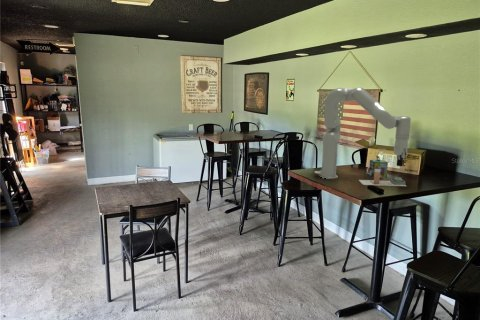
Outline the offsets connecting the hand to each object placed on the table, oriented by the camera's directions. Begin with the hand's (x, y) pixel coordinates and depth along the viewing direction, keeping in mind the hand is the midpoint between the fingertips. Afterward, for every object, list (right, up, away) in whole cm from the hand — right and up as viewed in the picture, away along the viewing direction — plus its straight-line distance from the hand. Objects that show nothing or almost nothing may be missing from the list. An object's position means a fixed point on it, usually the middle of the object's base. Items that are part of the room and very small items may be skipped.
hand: (399, 165), depth 204 cm
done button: (0, -10, +2) cm, 10 cm away
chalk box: (-5, -8, +22) cm, 24 cm away
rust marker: (-14, -11, +2) cm, 18 cm away
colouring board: (-10, -12, +3) cm, 15 cm away
